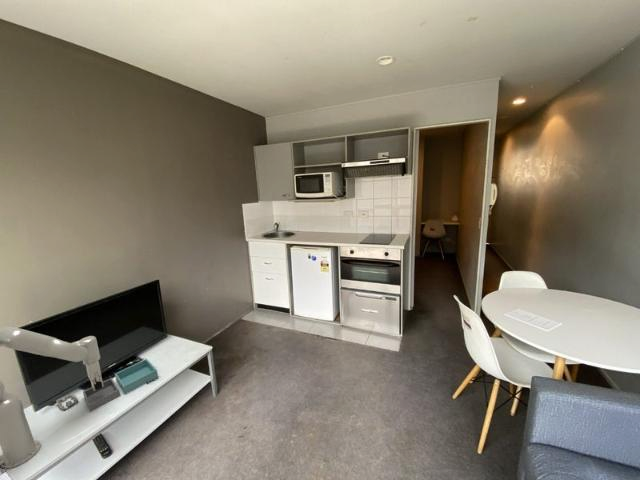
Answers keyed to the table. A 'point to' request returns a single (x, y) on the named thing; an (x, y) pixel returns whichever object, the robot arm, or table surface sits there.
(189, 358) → the table surface
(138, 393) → the table surface
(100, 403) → the bin
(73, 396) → the egg carton
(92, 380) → the stone block
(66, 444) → the table surface
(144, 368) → the bin
